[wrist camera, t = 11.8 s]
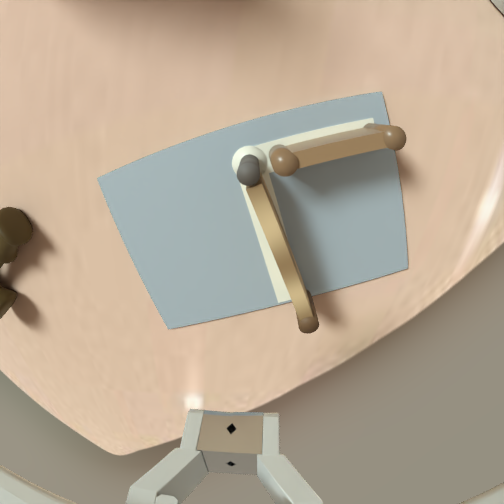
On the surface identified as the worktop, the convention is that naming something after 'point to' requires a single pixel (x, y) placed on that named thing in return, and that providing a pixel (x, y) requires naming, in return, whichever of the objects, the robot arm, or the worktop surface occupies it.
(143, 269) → the card
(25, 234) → the kendama
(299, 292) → the tan wooden bar
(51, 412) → the worktop surface
